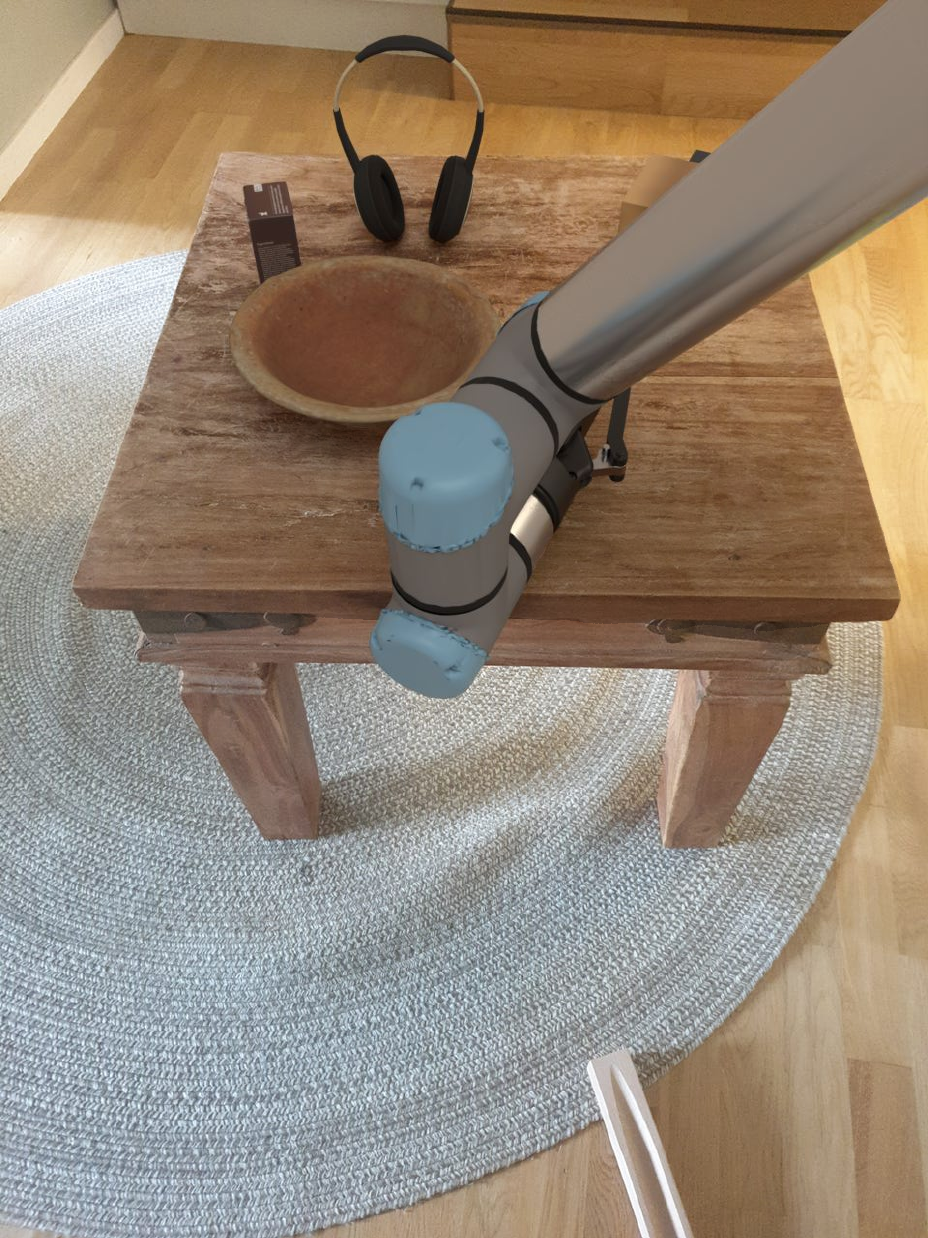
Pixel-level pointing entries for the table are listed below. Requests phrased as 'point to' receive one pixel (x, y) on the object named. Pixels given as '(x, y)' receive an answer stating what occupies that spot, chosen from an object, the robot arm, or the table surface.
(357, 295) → the bowl
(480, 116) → the headphones
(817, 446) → the table surface
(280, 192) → the box
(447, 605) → the robot arm
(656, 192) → the push block
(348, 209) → the table surface
